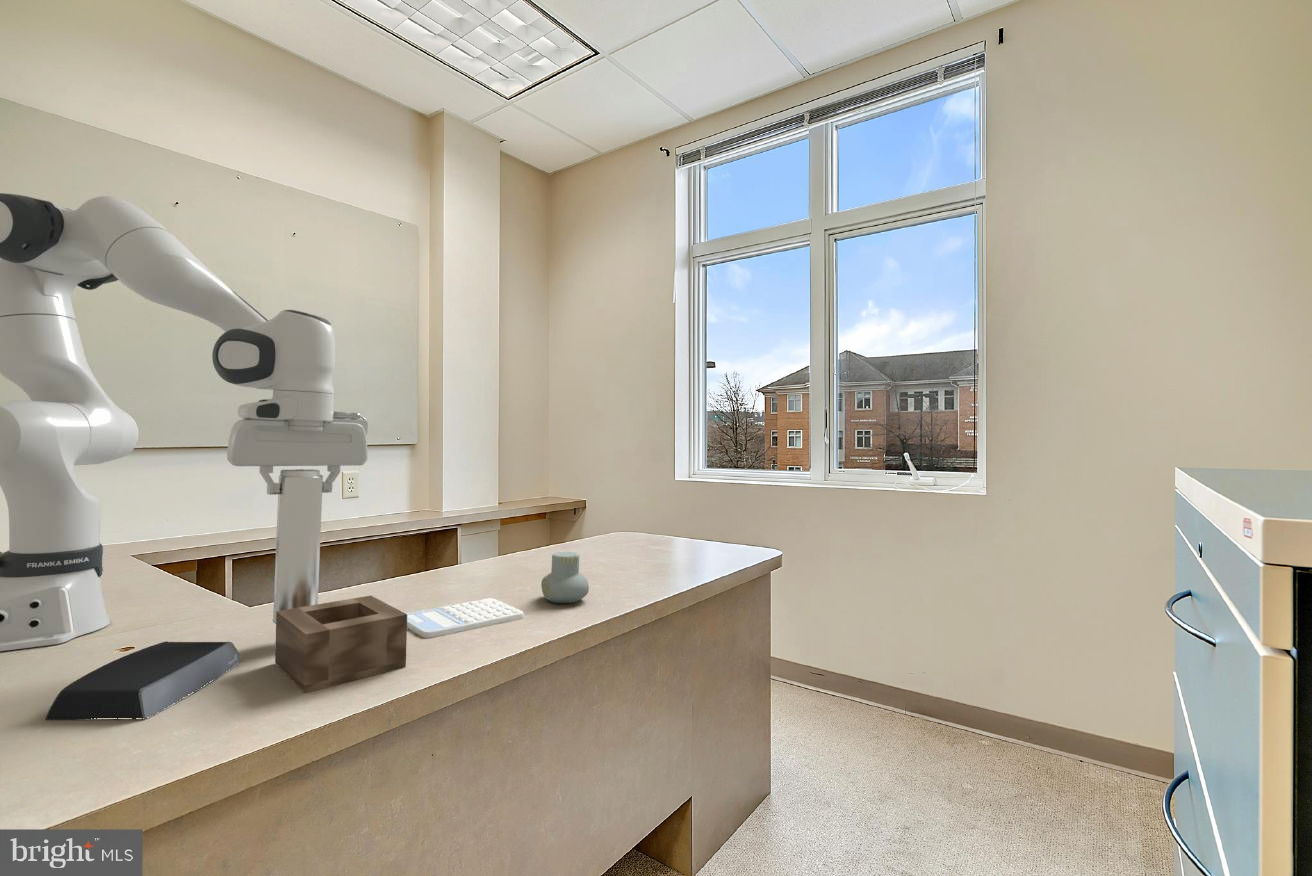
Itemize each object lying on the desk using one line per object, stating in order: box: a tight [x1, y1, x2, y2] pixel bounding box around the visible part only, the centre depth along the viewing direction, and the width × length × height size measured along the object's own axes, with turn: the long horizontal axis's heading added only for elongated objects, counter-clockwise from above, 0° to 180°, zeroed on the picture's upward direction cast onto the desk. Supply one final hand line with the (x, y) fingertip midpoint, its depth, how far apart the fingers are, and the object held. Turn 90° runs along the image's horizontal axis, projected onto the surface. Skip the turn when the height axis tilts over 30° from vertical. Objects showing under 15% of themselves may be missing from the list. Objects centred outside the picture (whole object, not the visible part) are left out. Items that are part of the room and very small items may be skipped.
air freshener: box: [540, 551, 590, 604], centre depth 132 cm, size 11×8×10 cm
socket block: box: [274, 595, 408, 693], centre depth 93 cm, size 14×14×8 cm
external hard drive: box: [44, 641, 242, 721], centre depth 84 cm, size 13×19×4 cm
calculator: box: [405, 597, 525, 639], centre depth 117 cm, size 13×20×2 cm, turn 133°
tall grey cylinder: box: [272, 468, 324, 625], centre depth 101 cm, size 6×6×25 cm
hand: (300, 493), depth 101 cm, fingers closed on tall grey cylinder, 6 cm apart
